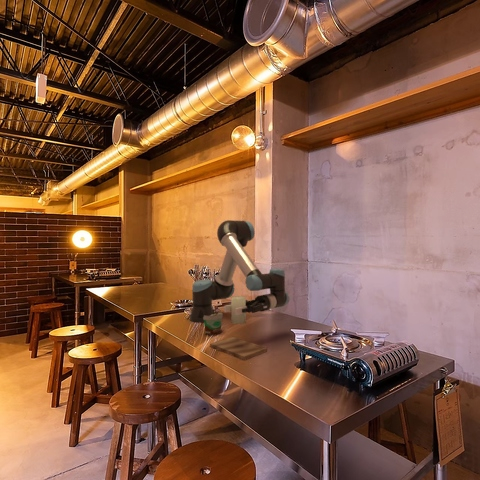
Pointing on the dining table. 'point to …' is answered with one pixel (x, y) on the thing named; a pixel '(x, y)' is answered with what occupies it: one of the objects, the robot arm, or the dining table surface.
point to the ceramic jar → (237, 303)
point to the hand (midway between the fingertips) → (230, 310)
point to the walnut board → (238, 348)
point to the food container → (213, 323)
